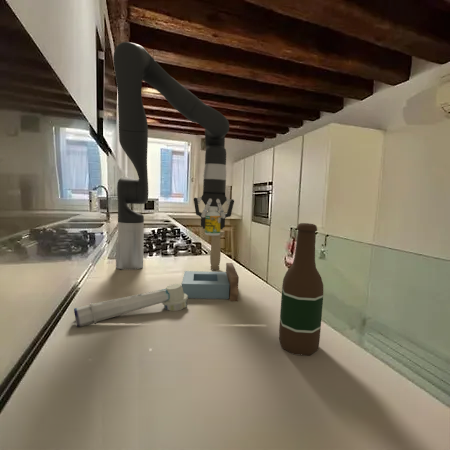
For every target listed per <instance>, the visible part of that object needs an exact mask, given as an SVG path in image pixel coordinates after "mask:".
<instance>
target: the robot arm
mask: <svg viewBox="0 0 450 450" xmlns="http://www.w3.org/2000/svg"><path fill="white" fill-rule="evenodd" d="M112 59H113V69H114V77H115V83H116V84H115V85H116V89H117V90H116V92H117V112H118V115H117V116H118V117H117V118H118V140H119V145H120V147H121V149H122V150H123V152H124V154H125V155H126V156H127V158H129V160H130V161H131V163H132V165H133V166H134V168H135V171H136V172H137V177H138V178H130V177H128V178H127V177H121V178H119V179H118V180H117V184H116V185H117V186H116V192H117V193H116V194H117V242H115V269H118V270H123V271H124V270H128V271H129V270H130V271H131V270H139V269H142V268H143V267H144V238H145V237H144V232H145V231H144V228H145V227H144V226H145V222H144V221H145V216H144V215H143V213H141V212H137V211H135V210H133V209H131V208H130V207H129V205H134V204H135V205H142V204H143V205H144V204H146V203H147V202H148V200H149V199H148V198H149V178H148V177H149V176H148V141H149V139H148V138H149V135H148V134H149V126H148V125H149V124H148V118H147V114H146V111H145V108H144V104H143V98H142V97H143V95H142V91H143V90H142V86H143V82H145V83H147V85H149V86H152V88H154V89H155V90H156V91H158V92H159V94H160V95H162V96H163V98H164V99H165V100H166V101H167V102H168V103H169V104H170V106H172V107H173V108H174V109H175V110H176V111H177V112H178V113H180V114H181V115H182V116H184V117H185V118H186V119H188V120H189V121H190V122H192V123H194V124H195V123H196V124H198V125H200V127H202V128H204V141H205V153H204V169H203V175H202V176H203V185H202V187H203V188H202V195H201V197H194V198H193V204H194V211H195V215H196V216H199V217H200V226H201V228H202V229H204V230H205V215H206V213H207V212H208V208H209V206H212V207H218V208H219V211H218V212H219V213H220V214H221V228H220V230H223V229H224V228H225V224H226V219H227V218H229V217H231V216H232V212H233V209H234V203H235V200H234V199H233V198H232V199H230V198H227V196H226V195H227V194H226V190H227V189H226V188H227V187H226V186H227V185H226V184H227V149H226V148H225V147H226V146H225V144H226V143H225V142H226V140H225V139H226V135H228V133H229V131H230V122H229V120H228V119H227V117H226V116H225V115H224V114H222V112H220V111H218V110H217V109H215V108H213V107H211V106H210V105H208V104H206V103H204V102H203V101H202V99H200V98H198V96H197V95H195V94H194V93H192V92H191V91H190V90H189V89H187V87H185V86H184V85H182V84H181V83H180V82H178V80H176V79H175V78H174V77H172V76H171V75H170V74H169V73H168V72H167V71H166V70H165V69H164V68H163V67H162V66H161V65H160V64H159V63H158V62H157V61H156V59H154V57H153V56H152V55H151V54H150V53H149V52H148V51H147V49H146V48H144V47H143V46H142V45H140V44H138V43H135V42H130V41H122V42H120V43H119V44H118V45H116V47H115V49H114V52H113V58H112ZM201 201H202V202H203V204H204V205H205V206H204V207H203V210H202V212H201V211H200V208H199V204H201ZM225 203H227V205H228V206H227V207H228V208H227V212H226V213H225V212H224V208H223V205H225ZM128 204H129V205H128Z"/></svg>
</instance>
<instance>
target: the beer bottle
mask: <svg viewBox="0 0 450 450" xmlns="http://www.w3.org/2000/svg"><path fill="white" fill-rule="evenodd" d="M296 230H297V234H296V235H297V236H296V242H295V243H296V244H295V251H294V258H293V261H292V265H291V266H290V267H289V268H288V269H287V271H286V272H285V274H284V277H283V280H282V284H281V285H282V286H281V296H280V297H281V299H280V312H279V313H280V314H279V316H280V317H279V328H278V332H279V333H278V340H279V343H280V346H281V349H283V350H285V351H287V352H289V353H290V352H291V354H292V353H293V354H292V355H294V354H300V355H299V356H311V355H313V354H314V353H316V352H317V351H318V350H319V349H320V348H319V347H320V341H321V327H322V315H323V305H324V304H323V303H324V283H323V279H322V277H321V274H320V272H319V271H318V269H317V267H316V232H317V231H318V227H317V225H316V224H314V223H307V222H306V223H304V222H301V223H297V226H296ZM301 354H302V355H301Z"/></svg>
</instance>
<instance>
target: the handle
mask: <svg viewBox="0 0 450 450" xmlns="http://www.w3.org/2000/svg"><path fill="white" fill-rule="evenodd" d="M224 235H225V230H223V229H220V235H209V236H210V237H211V245H210V253H209V254H210V255H209V256H210V257H209V260H210V261H209V262H210V263H209V264H210V270H213V271H218V270H219V269H220V263H221V256H222V255H221V254H222V253H221V238H222V236H224Z"/></svg>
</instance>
